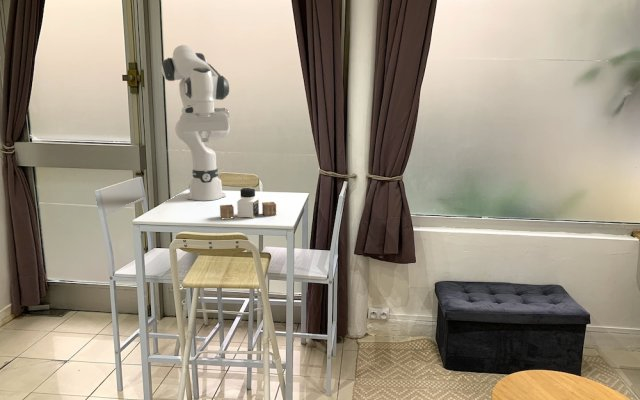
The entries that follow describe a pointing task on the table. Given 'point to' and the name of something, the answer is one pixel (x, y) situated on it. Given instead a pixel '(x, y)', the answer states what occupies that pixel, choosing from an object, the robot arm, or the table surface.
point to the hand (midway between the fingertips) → (205, 142)
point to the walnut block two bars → (268, 208)
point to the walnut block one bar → (226, 211)
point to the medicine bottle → (248, 203)
